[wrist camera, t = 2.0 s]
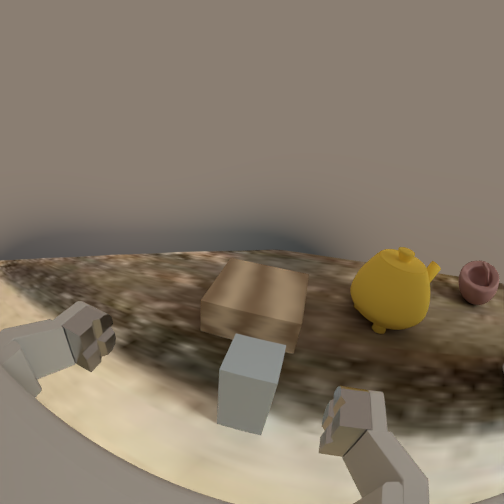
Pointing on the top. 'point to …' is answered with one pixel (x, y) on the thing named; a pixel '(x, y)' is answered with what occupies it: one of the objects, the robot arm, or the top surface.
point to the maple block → (255, 303)
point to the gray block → (248, 383)
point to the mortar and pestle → (478, 282)
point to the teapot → (393, 289)
